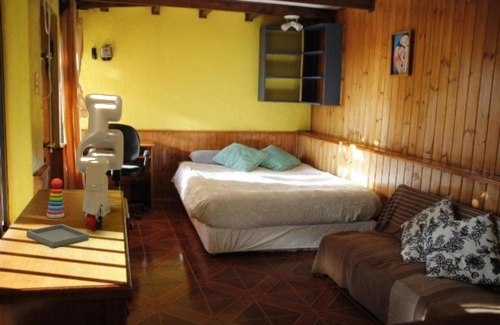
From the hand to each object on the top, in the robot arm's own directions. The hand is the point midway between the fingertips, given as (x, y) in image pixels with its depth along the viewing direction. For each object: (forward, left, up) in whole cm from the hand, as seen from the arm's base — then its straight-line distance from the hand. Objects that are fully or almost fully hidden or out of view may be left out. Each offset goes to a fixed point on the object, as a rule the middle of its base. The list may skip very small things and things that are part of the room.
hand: (93, 227), depth 210 cm
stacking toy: (-1, -32, -2) cm, 32 cm away
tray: (+16, -2, -2) cm, 16 cm away
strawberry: (0, 0, -2) cm, 2 cm away
